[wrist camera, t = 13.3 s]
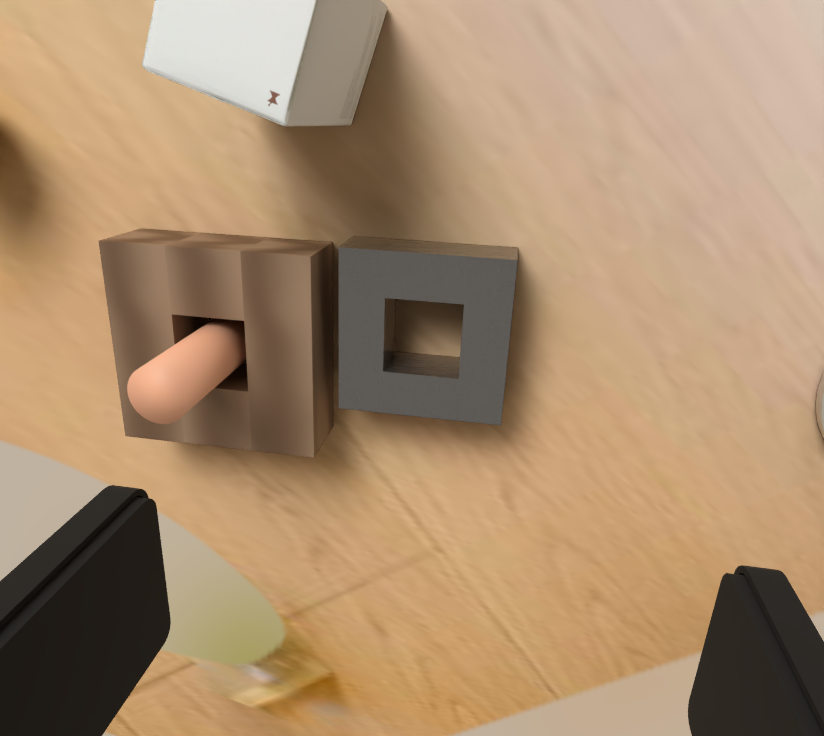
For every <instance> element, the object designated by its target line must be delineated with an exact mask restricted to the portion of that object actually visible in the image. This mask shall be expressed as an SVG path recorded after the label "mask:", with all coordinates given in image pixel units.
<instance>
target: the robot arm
mask: <svg viewBox="0 0 824 736" xmlns="http://www.w3.org/2000/svg"><path fill="white" fill-rule="evenodd" d="M816 415H817V423H818V426H819V428H820V431H821V434H822V437H823V438H824V373H823V375H822V378H821V381H820V384H819V387H818V390H817V398H816ZM169 630H170V612H169V604H168V597H167V588H166V580H165V572H164V564H163V556H162V548H161V540H160V531H159V523H158V515H157V507H156V503H155V502H154V500H152V499H149V498H148V495H147V493H146V491H144V490H142V489H137V488H130V487H122V486H114V485H112V486H108V487H106V488H105V489H104V490H102V491H101V492H100V493H99V494H98V495H97V496H96V497H94V498H93V499H92V500H91V501H90V502H89V503H88V504H87V505H85V506H84V507H83V508H82V509H81V510H80V511H79V512H78V513H76V514H75V515H74V516H73V517H72V518H71V519H70V520H69V521H67V522H66V523H65V524H64V525H63V526H62V527H61V528H60V529H59V530H57V531H56V532H55V533H54V534H53V535H52V536H51V537H50V538H48V539H47V540H46V541H45V542H44V543H43V544H42V545H41V546H39V547H38V548H37V549H36V550H35V551H34V552H33V553H32V554H30V555H29V556H28V557H27V558H26V559H25V560H24V561H23V562H21V563H20V564H19V565H18V566H17V567H16V568H15V569H14V570H13V571H11V572H10V573H9V574H8V575H7V576H6V577H5V578H3V579H2V580H1V581H0V736H102V735H103V733H104V732H105V730H106V729H107V727H108V726H109V724H110V723H111V721H112V720H113V718H114V717H115V715H116V714H117V713H118V711H119V710H120V708H121V707H122V705H123V704H124V702H125V701H126V699H127V698H128V696H129V695H130V693H131V692H132V690H133V689H134V687H135V686H136V684H137V683H138V682H139V680H140V679H141V677H142V676H143V674H144V673H145V671H146V670H147V668H148V667H149V665H150V664H151V662H152V661H153V659H154V658H155V656H156V655H157V654H158V652H159V651H160V649H161V648H162V646H163V645H164V643H165V641H166V639H167V637H168V634H169ZM688 718H689V725H690V730H691V734H692V736H824V642H823V640H822V638H821V636H820V635H819V633H818V631H817V629H816V628H815V626H814V624H813V623H812V621H811V619H810V617H809V616H808V614H807V612H806V610H805V609H804V607H803V605H802V603H801V602H800V600H799V598H798V597H797V595H796V593H795V591H794V590H793V588H792V586H791V584H790V583H789V581H788V579H787V577H786V576H785V575H784V573H783V572H781V571H779V570H774V569H766V568H758V567H750V566H742V565H741V566H738V568H737V569H736V570H735V573H734V574H729V573H726V574H724V576H723V577H722V580H721V583H720V587H719V591H718V595H717V598H716V602H715V606H714V610H713V613H712V617H711V621H710V624H709V628H708V632H707V636H706V639H705V643H704V647H703V651H702V654H701V658H700V662H699V666H698V670H697V673H696V677H695V681H694V685H693V688H692V692H691V695H690V699H689V707H688Z"/></svg>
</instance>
